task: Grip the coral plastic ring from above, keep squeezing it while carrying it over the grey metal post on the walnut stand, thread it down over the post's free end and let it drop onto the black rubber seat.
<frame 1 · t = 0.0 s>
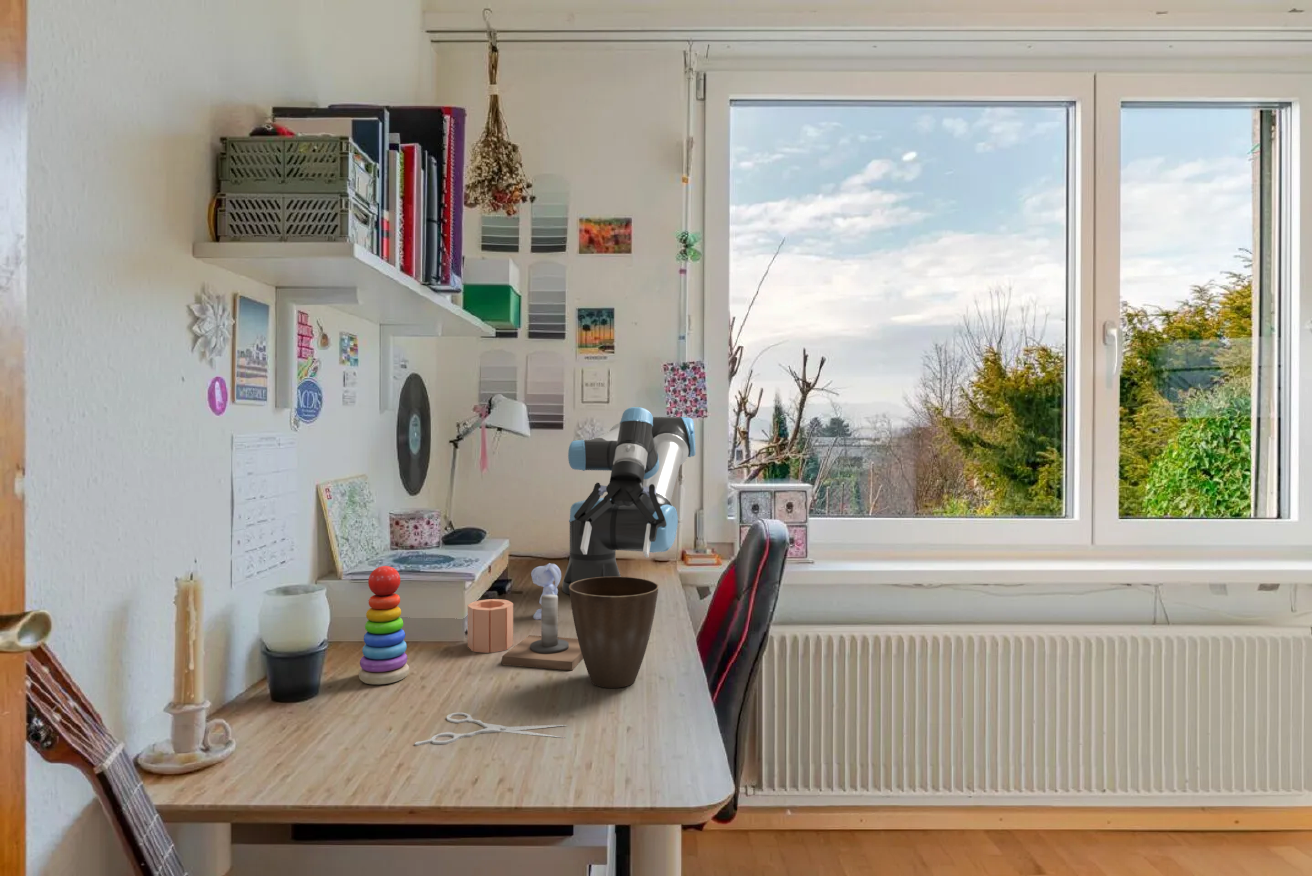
hand: (614, 553, 155), 15 cm above the table, tool tilted 35°, fingers open, 13 cm apart
plant pot: (613, 681, 123), on the table
post stand: (549, 655, 135), on the table
scissors: (498, 734, 103), on the table
toy figurine: (545, 617, 162), on the table
stacking toy: (384, 678, 123), on the table
ring: (490, 645, 141), on the table
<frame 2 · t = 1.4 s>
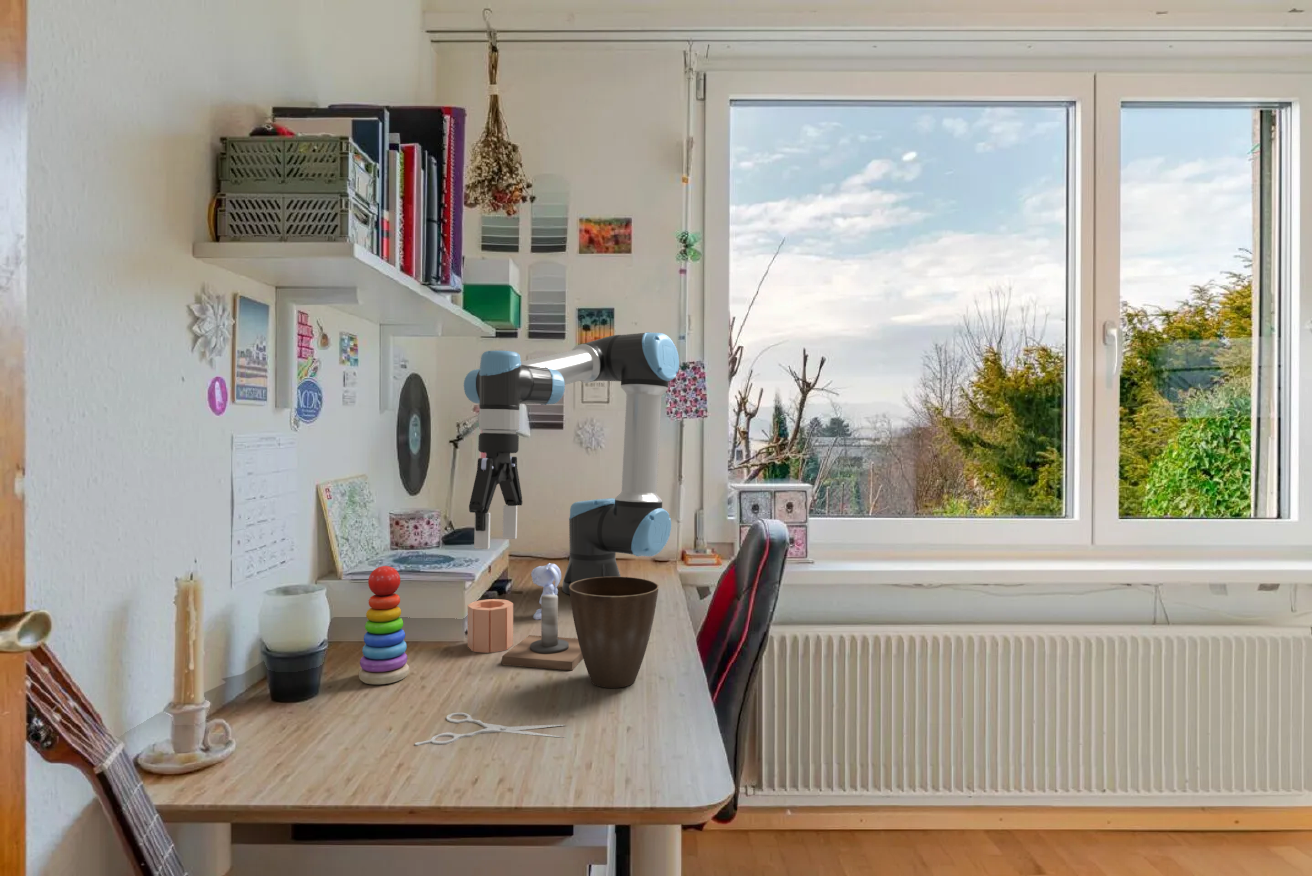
hand: (496, 543, 140), 20 cm above the table, tool pointing down, fingers open, 13 cm apart
nothing on the table moved.
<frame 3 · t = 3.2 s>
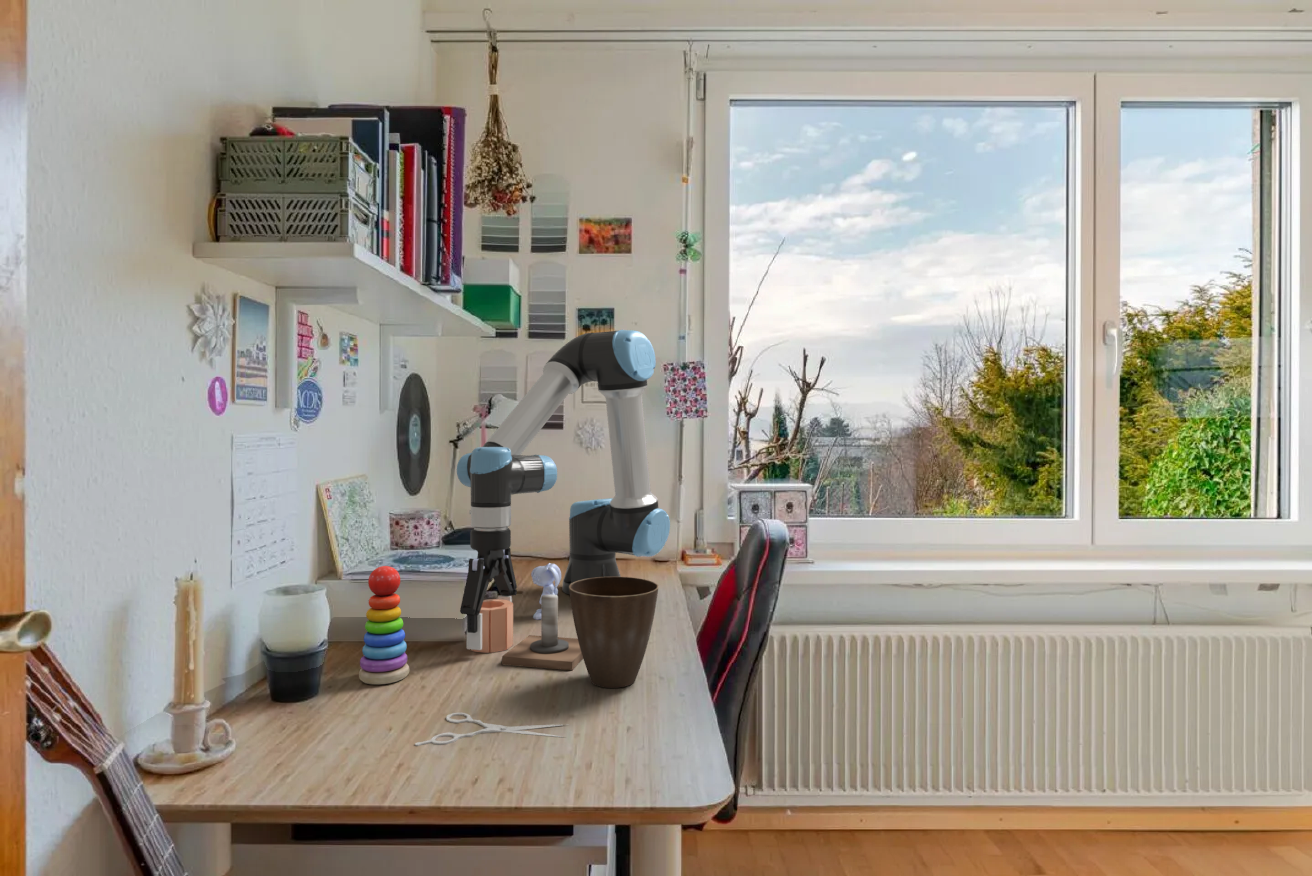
hand: (490, 638, 141), 1 cm above the table, tool pointing down, fingers open, 13 cm apart
nothing on the table moved.
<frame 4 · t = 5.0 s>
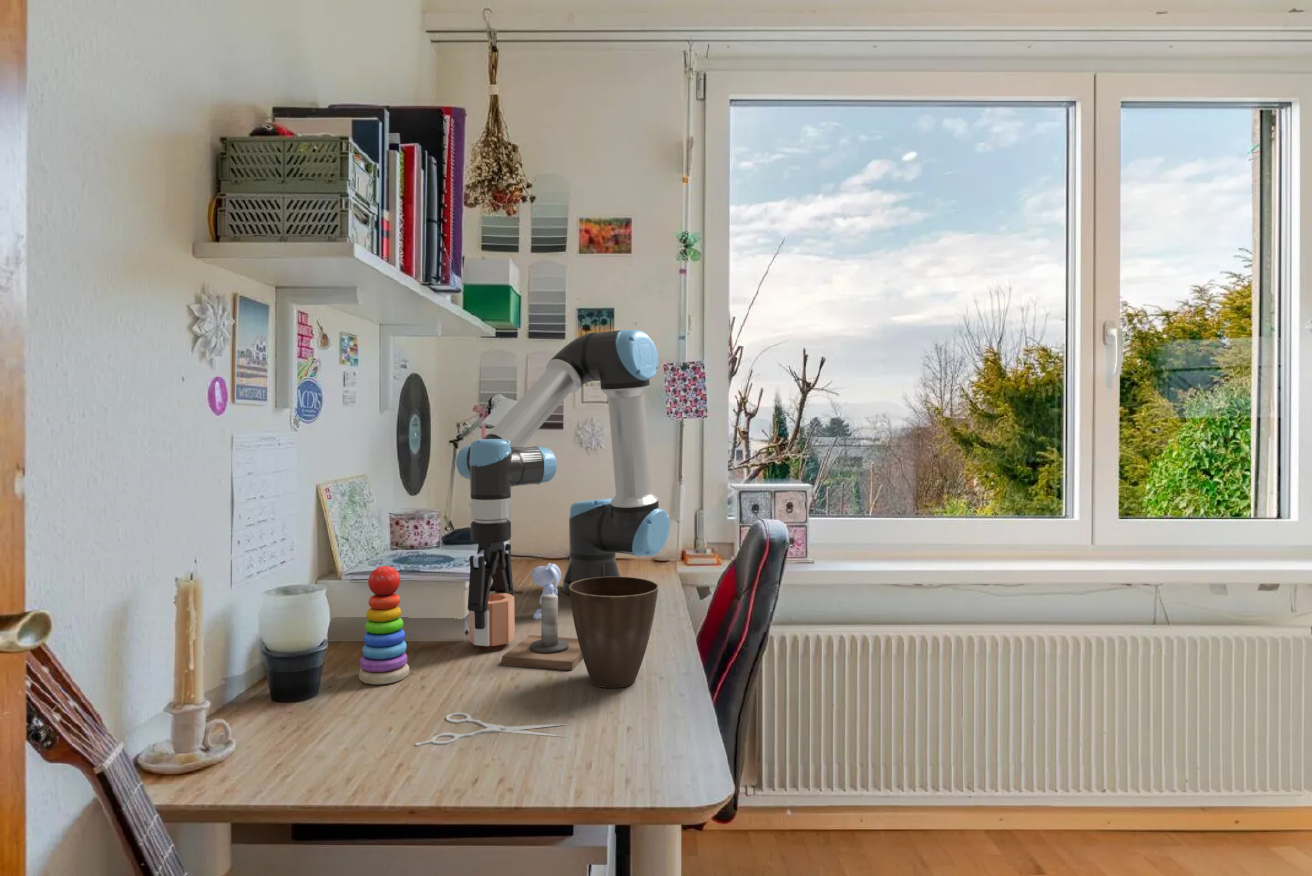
hand: (491, 637, 141), 1 cm above the table, tool pointing down, fingers closed on ring, 8 cm apart
ring: (492, 639, 141), point 1 cm above the table, touching gripper
everything else where it was.
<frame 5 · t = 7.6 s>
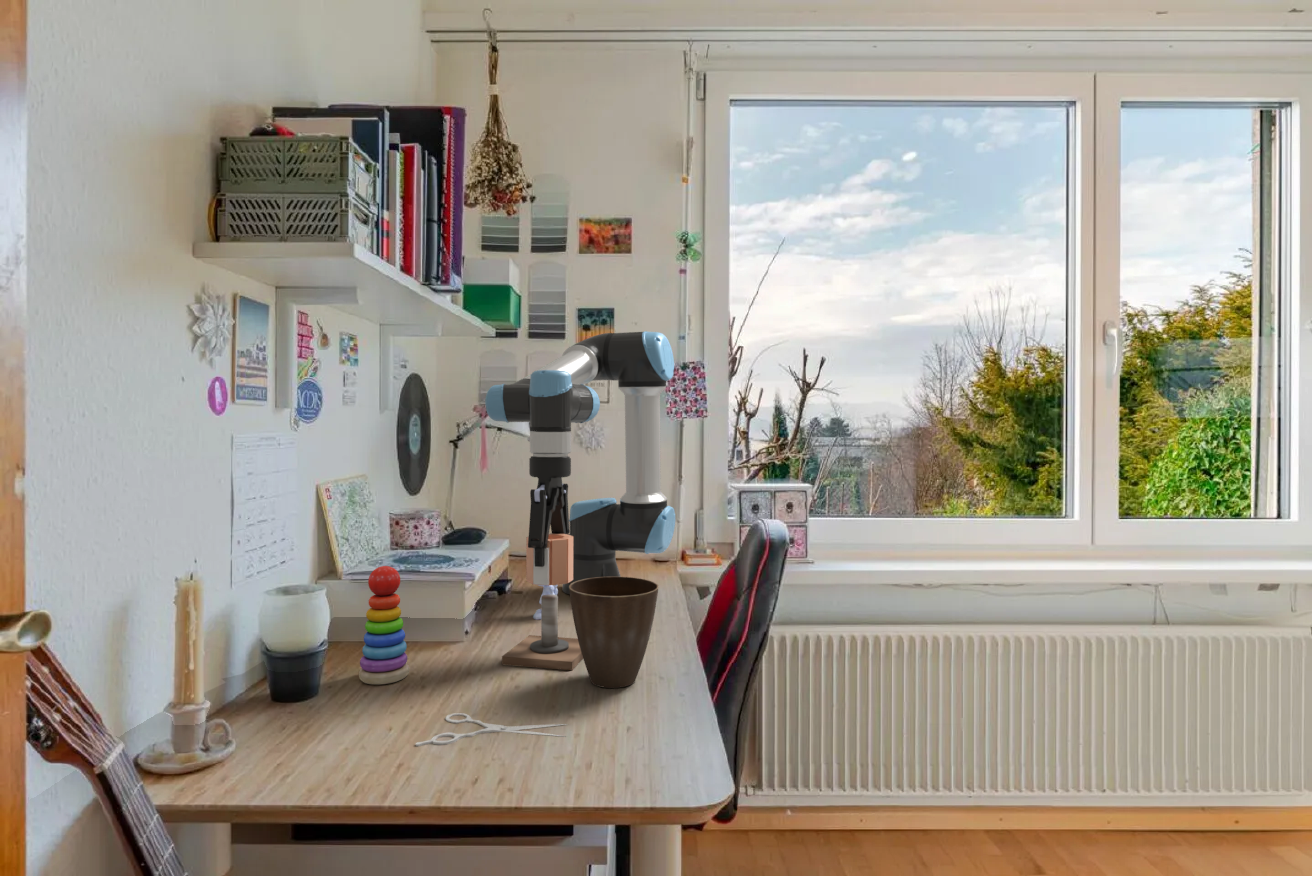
hand: (549, 578, 135), 14 cm above the table, tool pointing down, fingers closed on ring, 8 cm apart
ring: (549, 580, 135), point 14 cm above the table, touching gripper
everything else where it was.
when the fingers open (4 cm above the table, at t = 10.5 s): ring drops 2 cm, resting on post stand.
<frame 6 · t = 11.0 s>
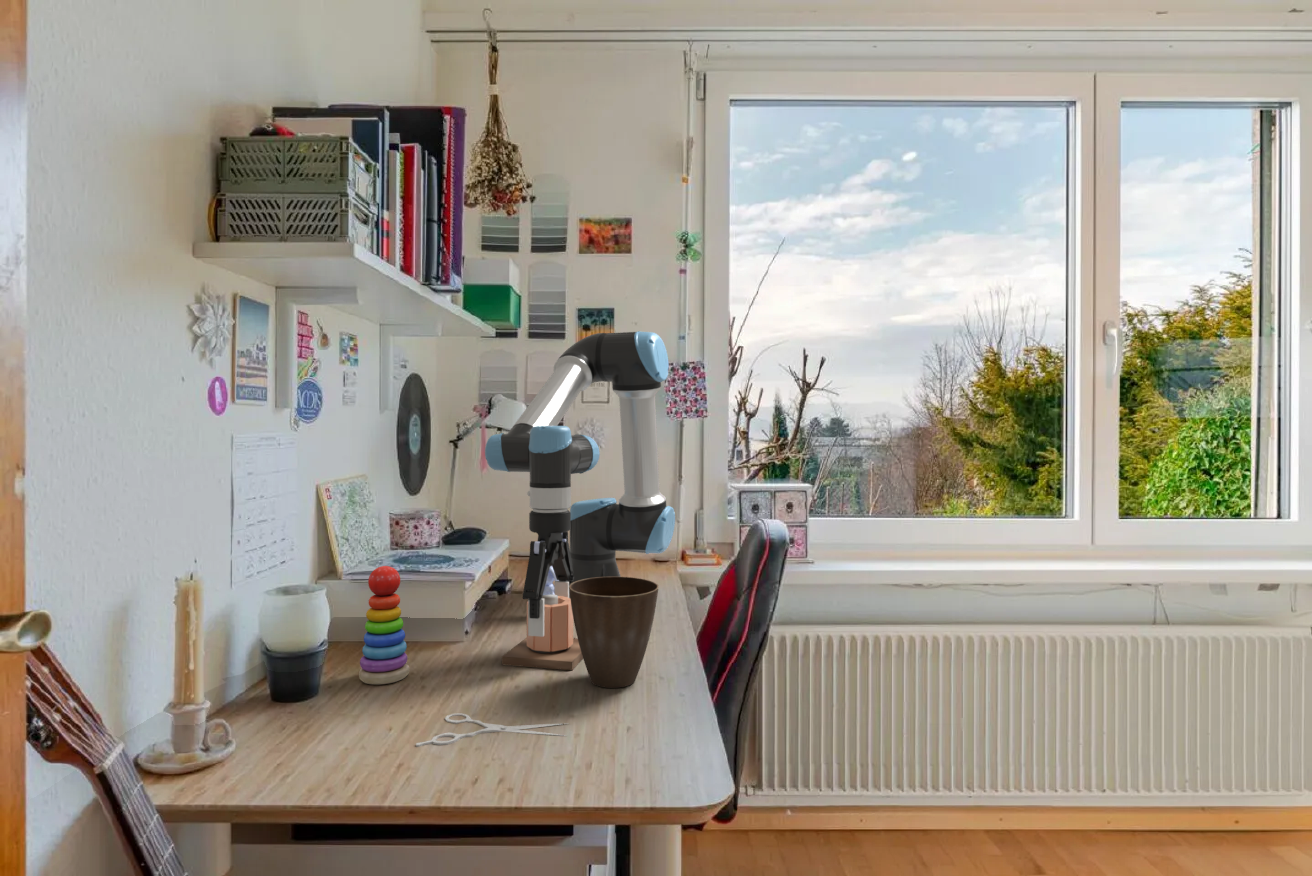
hand: (549, 625, 135), 6 cm above the table, tool pointing down, fingers open, 13 cm apart
ring: (550, 644, 135), point 2 cm above the table, touching post stand
everything else where it was.
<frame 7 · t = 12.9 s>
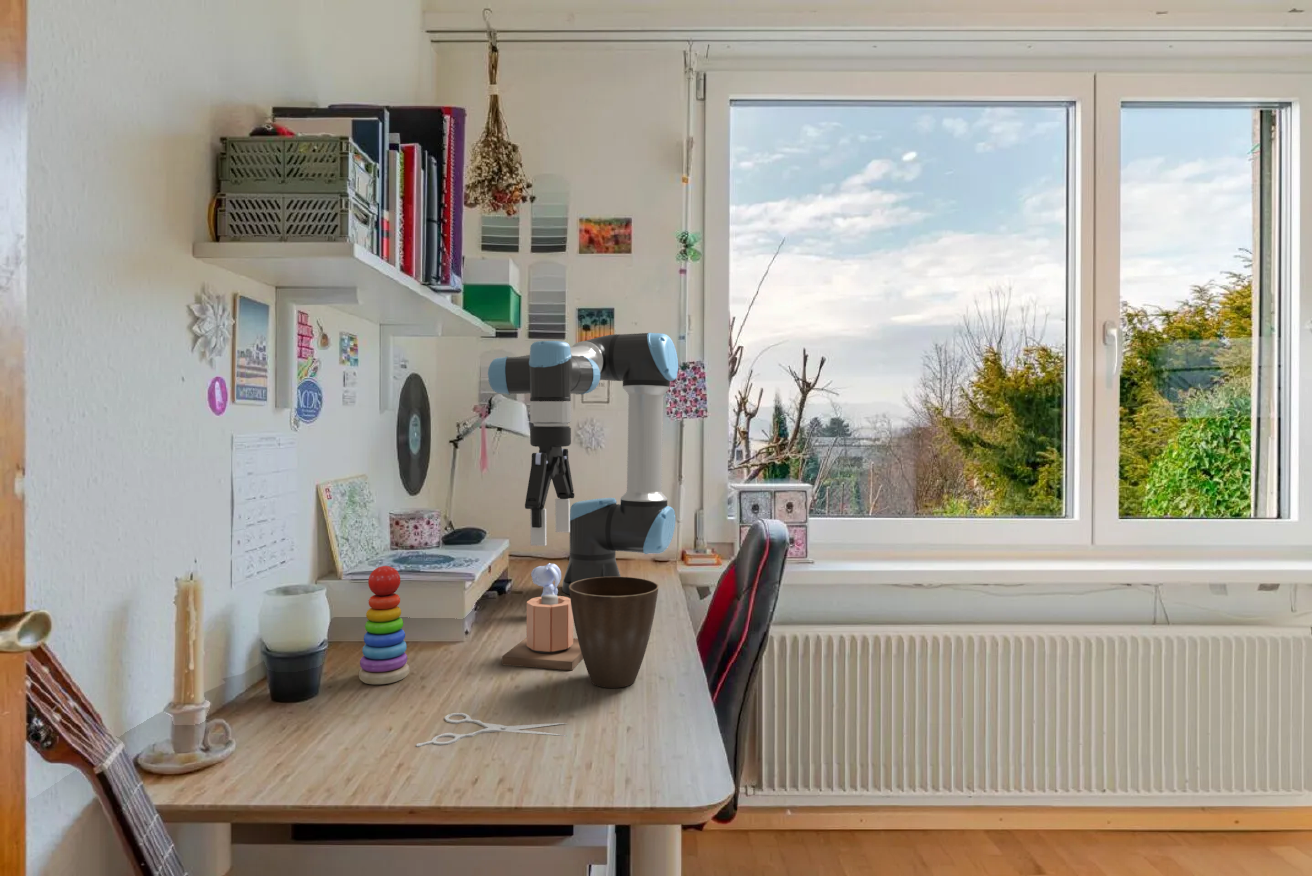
hand: (551, 538, 138), 21 cm above the table, tool pointing down, fingers open, 13 cm apart
nothing on the table moved.
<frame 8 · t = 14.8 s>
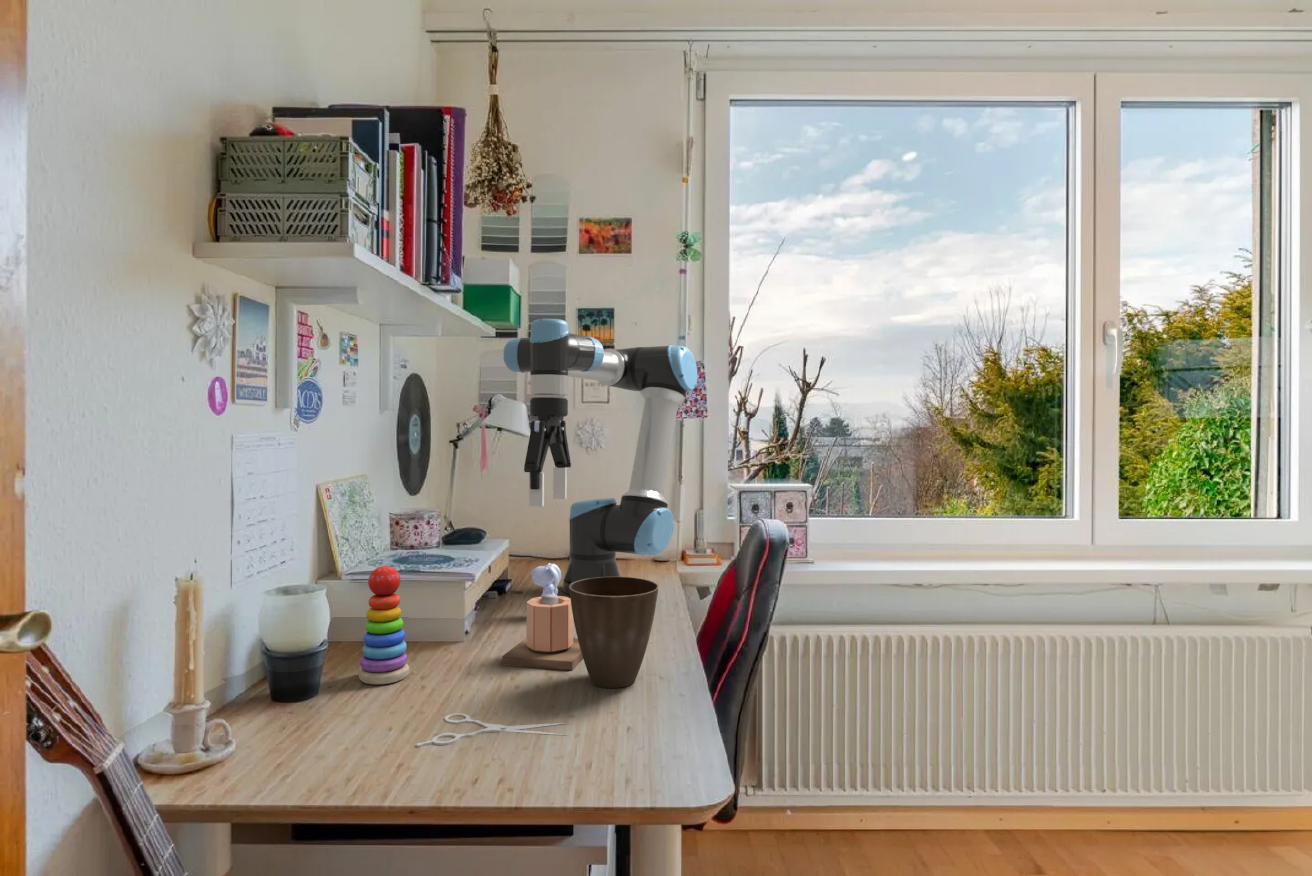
hand: (548, 502, 148), 27 cm above the table, tool pointing down, fingers open, 13 cm apart
nothing on the table moved.
at the end: ring 0.1 cm from the post stand (horizontally); ring point 2.1 cm above the table; the gripper is holding nothing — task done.
